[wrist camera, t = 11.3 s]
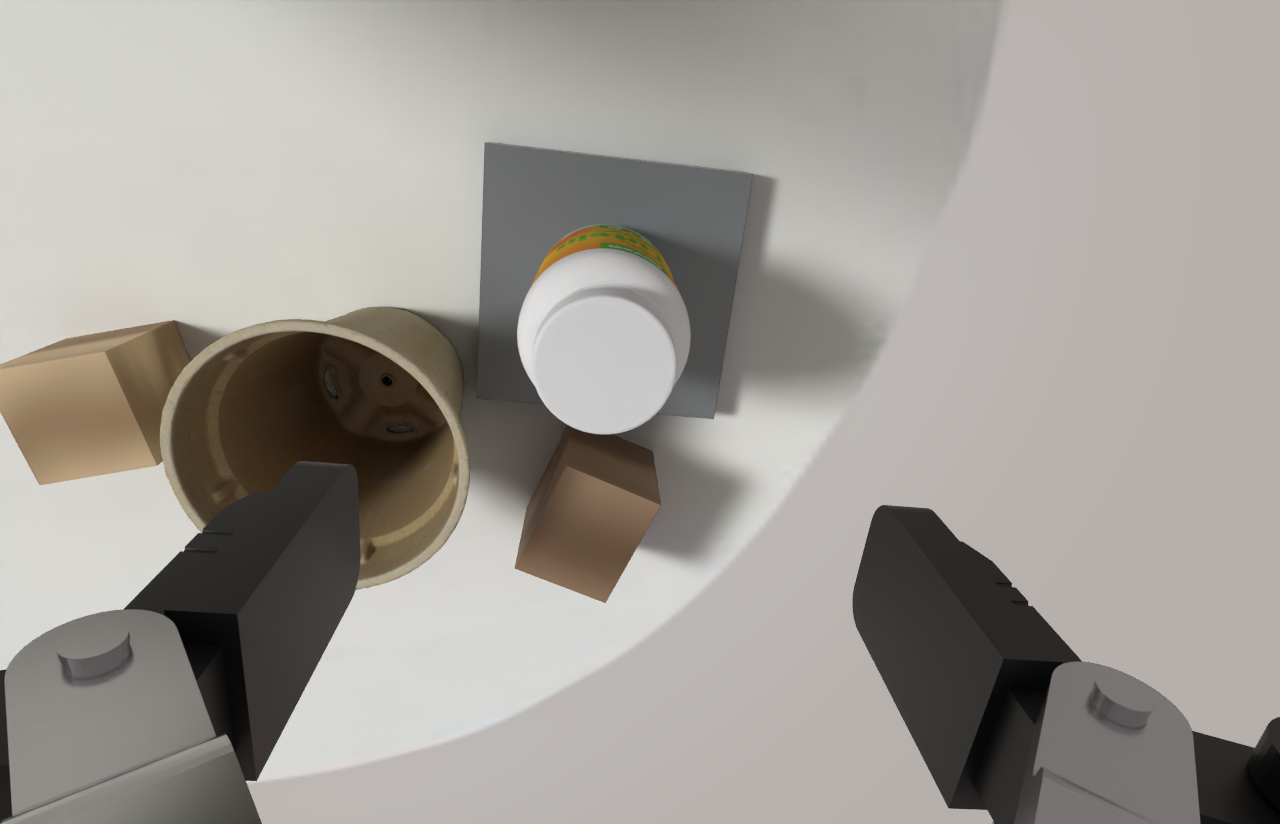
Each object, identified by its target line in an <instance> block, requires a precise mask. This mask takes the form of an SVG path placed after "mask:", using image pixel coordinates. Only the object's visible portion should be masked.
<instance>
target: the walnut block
mask: <svg viewBox="0 0 1280 824" xmlns="http://www.w3.org/2000/svg"><path fill="white" fill-rule="evenodd" d="M660 506H661V503H660V497H659V490H658V483H657V477H656V470H655V464H654V457H653V452H652V451H649V450H647V449H645V448H642V447H640V446H638V445H635V444H633V443H631V442H629V441H626V440H624V439H622V438H619V437H617V436H615V435H612V434H593V433H588V432H584V431H581V430H578V429H575V428H573V427H571V426H569V425H568V426H567V428H566V430H565V432H564V434H563V436H562V438H561V440H560V442H559V444H558V446H557V448H556V450H555V452H554V454H553V456H552V458H551V460H550V462H549V464H548V466H547V468H546V470H545V472H544V474H543V476H542V478H541V480H540V482H539V484H538V486H537V488H536V490H535V492H534V494H533V496H532V498H531V500H530V503H529V505H528V507H527V510H526V515H525V520H524V525H523V530H522V535H521V540H520V544H519V549H518V554H517V559H516V564H515V569H518V570H520V571H523V572H526V573H528V574H531V575H533V576H536V577H539V578H541V579H544V580H547V581H549V582H552V583H554V584H557V585H560V586H562V587H565V588H568V589H570V590H573V591H575V592H578V593H581V594H583V595H586V596H589V597H591V598H594V599H596V600H599V601H602V602H604V603H606V601H607V599H608V598H609V596H610V594H611V592H612V591H613V589H614V587H615V585H616V583H617V582H618V580H619V578H620V576H621V575H622V573H623V571H624V569H625V568H626V566H627V564H628V562H629V561H630V559H631V557H632V555H633V553H634V552H635V550H636V548H637V546H638V545H639V543H640V541H641V539H642V538H643V536H644V534H645V532H646V530H647V529H648V527H649V525H650V523H651V522H652V520H653V518H654V516H655V515H656V513H657V511H658V509H659V507H660Z"/></svg>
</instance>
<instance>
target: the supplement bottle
mask: <svg viewBox="0 0 1280 824" xmlns="http://www.w3.org/2000/svg"><path fill="white" fill-rule="evenodd" d="M690 339H691V333H690V323H689V317H688V313H687V310H686V306H685V304H684V301H683V299H682V297H681V295H680V292H679V290H678V288H677V286H676V284H675V281H674V279H673V276H672V274H671V272H670V269H669V267H668V265H667V263H666V261H665V260H664V258H663V256H662V255H661V254H660V252H659V251H658V250H657V248H656V247H655V246H654V245H653V244H652V243H651V242H650V241H649V240H647V239H646V238H645V237H643V236H642V235H640V234H639V233H637V232H635V231H633V230H630V229H628V228H625V227H622V226H617V225H611V224H596V225H589V226H585V227H582V228H579V229H577V230H575V231H573V232H571V233H569V234H567V235H566V236H564V237H563V238H562V239H561V240H559V241H558V242H557V243H556V244H555V245H554V246H553V247H552V248H551V250H550V251H549V252H548V254H547V255H546V257H545V258H544V260H543V262H542V264H541V266H540V268H539V270H538V273H537V275H536V277H535V279H534V281H533V283H532V285H531V287H530V289H529V291H528V293H527V295H526V297H525V300H524V302H523V305H522V308H521V312H520V315H519V320H518V328H517V342H518V349H519V354H520V358H521V361H522V364H523V366H524V369H525V371H526V373H527V375H528V376H529V378H530V380H531V381H532V383H533V384H534V386H535V387H536V390H537V392H538V394H539V396H540V398H541V400H542V401H543V403H544V404H545V405H546V407H547V408H548V409H549V410H550V412H552V413H553V414H554V415H555V416H556V417H557V418H558V419H560V420H561V421H562V422H564V423H566V424H567V425H569V426H571V427H573V428H575V429H578V430H581V431H584V432H588V433H593V434H616V433H622V432H626V431H629V430H632V429H634V428H636V427H638V426H640V425H642V424H644V423H645V422H647V421H648V420H650V419H651V418H652V417H653V416H654V415H655V414H657V413H658V411H659V410H660V409H661V408H662V407H663V405H664V404H665V403H666V401H667V399H668V397H669V396H670V394H671V392H672V389H673V386H674V385H675V384H676V382H677V381H678V379H679V378H680V376H681V374H682V372H683V369H684V367H685V365H686V362H687V358H688V354H689V349H690Z"/></svg>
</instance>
